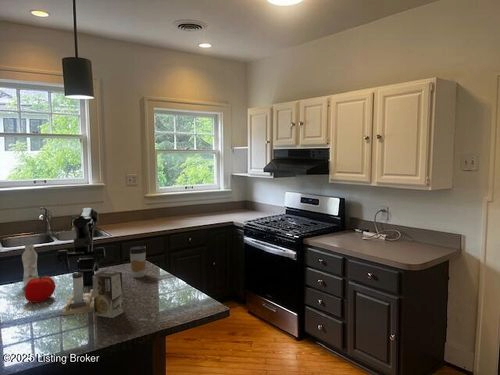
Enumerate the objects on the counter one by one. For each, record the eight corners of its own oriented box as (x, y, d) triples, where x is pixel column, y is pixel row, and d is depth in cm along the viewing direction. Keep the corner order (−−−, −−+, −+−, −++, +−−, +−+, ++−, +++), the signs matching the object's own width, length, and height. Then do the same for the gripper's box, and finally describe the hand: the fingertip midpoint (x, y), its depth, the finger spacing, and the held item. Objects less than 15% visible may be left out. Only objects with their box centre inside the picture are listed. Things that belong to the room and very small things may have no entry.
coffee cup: (149, 273, 194) (148, 246, 194) (143, 278, 186) (142, 249, 185) (134, 273, 195) (133, 245, 194) (127, 278, 187) (126, 249, 186)
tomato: (17, 303, 154) (16, 280, 153) (43, 293, 165) (42, 271, 165) (37, 307, 150) (35, 282, 149) (62, 296, 162) (61, 274, 161)
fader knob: (72, 304, 148) (71, 272, 147) (86, 302, 149) (85, 271, 149) (71, 307, 144) (69, 275, 143) (85, 305, 146) (84, 274, 145)
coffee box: (124, 312, 144) (122, 271, 143) (113, 318, 137) (111, 276, 136) (105, 309, 146) (103, 269, 146) (93, 315, 140) (92, 274, 139)
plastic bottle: (41, 284, 178) (40, 244, 177) (27, 288, 172) (25, 247, 171) (35, 282, 181) (33, 243, 180) (20, 286, 176) (18, 245, 174)
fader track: (69, 298, 159) (69, 291, 159) (97, 295, 162) (96, 288, 162) (61, 315, 141) (61, 307, 141) (92, 311, 144) (92, 304, 144)
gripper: (56, 232, 154) (52, 264, 144) (103, 229, 160) (102, 260, 150) (60, 246, 162) (56, 278, 152) (105, 243, 168) (104, 273, 158)
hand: (80, 272), depth 153 cm, fingers open, 9 cm apart
